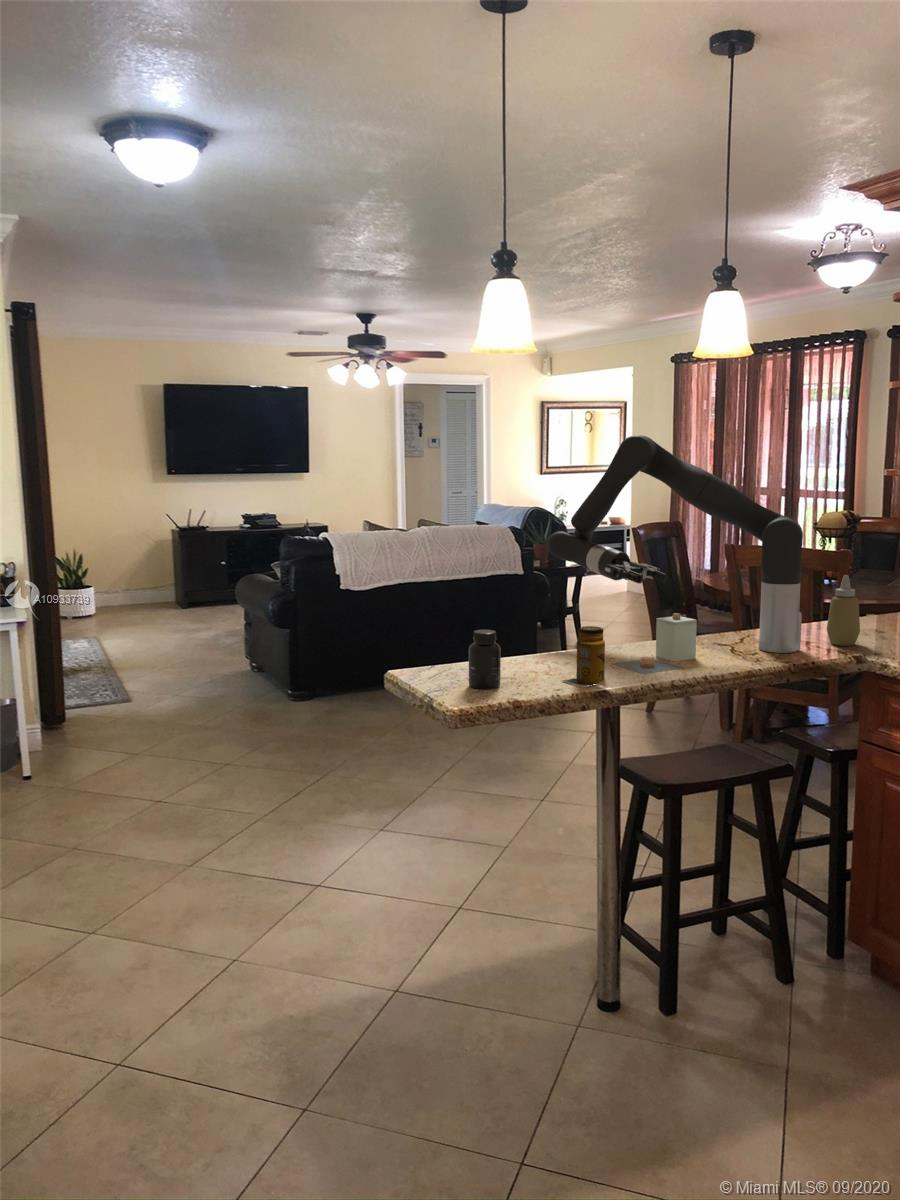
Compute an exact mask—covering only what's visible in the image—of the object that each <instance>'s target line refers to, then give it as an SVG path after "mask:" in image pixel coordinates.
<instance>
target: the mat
mask: <svg viewBox="0 0 900 1200" xmlns="http://www.w3.org/2000/svg"><path fill="white" fill-rule="evenodd" d="M611 666H616V667H618V668H622V669H626V670H629V671H632V672H636V673H639V674H642V675H647V674H654V673H661V672H668V671H674V670H683V669H684V667H683V666H679V665H676V664H672V663H668V662H665V661H662V660H658V659H655V660H654V667H641V666H640V659H638V660H637V659H636V660H629V661H623V662H621V661H620V662H615V663H614V662H613V663H611Z"/></svg>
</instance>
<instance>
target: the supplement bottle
mask: <svg viewBox="0 0 900 1200" xmlns="http://www.w3.org/2000/svg"><path fill="white" fill-rule="evenodd" d="M472 638H473V641H474V642H473V643H471V644H470V645H469V648H468V685H469V687H470V688H472V689H474V690H487V691H488V690H494V689H498V688H499V687H501V686H500V685H501V661H502V660H501V657H502V656H501V649H502V648H501V646H500V645H499V644H498V643H497V642H496V641H497V632H496V631H495V630H492V629H477V630H474V631H473V637H472Z"/></svg>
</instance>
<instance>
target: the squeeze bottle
mask: <svg viewBox="0 0 900 1200" xmlns="http://www.w3.org/2000/svg"><path fill="white" fill-rule="evenodd" d="M842 576H843V577H842V579H841V583H840V586H839V588H835V593H834V594H835V596H833V597H832V598H831V599H830V605H829V612H828V616H827V617H828V618H827V625H826V632H827V636H828V639H829V643H830V644H832V645H835V646H839V647H840V646H841V647H842V646H843V647H848V646H849V647H850V646H854V645H856V642H857V640H858V638H859V636H860V633H861V624H860V622H861V621H860V604H859V601H860V600H859V599H858V598H857V597H855V596H856V589H854V588H851V582H850V576H849V574H845V575H842Z"/></svg>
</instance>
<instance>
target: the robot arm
mask: <svg viewBox="0 0 900 1200" xmlns="http://www.w3.org/2000/svg"><path fill="white" fill-rule="evenodd" d="M639 472H641V473H643V474H646V475H649V476H650V477H652V478H654V479H656V480H658V481H660V482H662V483H664V484H665V486H667V487H669V488H670V489H671V490H672V491H674V493H676V495H678V496H679V497H681V499H683V500H685V501H686V503H688V504H690V505H691V506H692V507H694V508H695V509H698V510H700V511H701V512H703V513H705V514H707V515H709V516H710V517H713V518H715V519H717V520H719V521H722V522H724V523H728V524H729V525H733V526H735V527H738V528H740V529H741V530H744V531H746V532H747V533H749V534H750V535H752V536H754V537H755V538H756V539H758V540H759V541H760V542H761V565H760V567H761V568H760V570H761V571H760V572H761V580H760V582H761V583H760V588H761V589H760V606H759V607H760V610H759V613H760V614H759V632H758V633H759V634H758V635H759V636H758V650H761V651H763V652H770V653H775V654H777V653H779V654H787V653H789V654H790V653H796V652H798V651H799V650H801V643H802V642H801V641H802V623H803V622H802V621H803V620H802V619H803V617H802V616H803V613H802V612H801V611H800V602H801V582H802V581H801V580H802V556H803V555H802V554H803V539H804V534H803V533H804V532H803V529H802V527H801V525H800V524H799V522H798V521H796V520H794V519H793V518H790V517H787V516H785V515H783V514H780V513H778V512H775V511H773V510H771V509H769V508H767V507H765V506H763V505H761V504H759V503H757V502H756V501H754V500H753V499H752V498H750V497H749V496H748V495H746V494H745V493H743V492H742V491H740V490H739V489H737V488H736V487H734V486H733V485H731V484H730V483H728V482H727V481H725V480H723V479H721V478H720V477H718V476H716V475H715V474H712V473H710V472H709V471H706V470H705V469H703V468H701V467H699V466H697V465H694V464H692V463H689V462H687V461H685V460H682V459H681V458H679V457H677V456H675V455H674V454H672V453H671V452H669V451H668V450H667V449H665V448H664V447H662V446H661V445H660V444H658V443H657V442H656V441H655V440H654V439H652V438H650V437H648V436H646V435H643V434H639V435H638V434H637V435H636V434H634V435H630V436H628V437H626V438H625V439H623V441H622V442H621V443H620V445H619V447H618V448H617V451H616V452H615V454H614V455H613V458H612V460H611V462H610V463H609V466H608V467H607V469H606V471H605V472H604V473H603V476H602V477H601V478H600V479H599V482H597V484H596V485H595V487H594V488H593V489H592V491H591V492H590V493H589V494H588V495H587V497H586V498H585V499H584V501H583V502H582V503H581V505H580V506H579V508H578V509H577V510H576V511H575V513H574V514H573V516H572V517H571V518H570V519H571V520H570V524H571V525H572V527H573V528H574V529H575V530H574V532H573V533H572V534H570V533H568V532H565V531H556V532H553V533H552V534H551V535H550V536H549V537H548V539H547V542H546V546H547V550H548V552H549V553H550V555H552V556H554V557H555V558H558V559H561V560H564V561H566V562H569V563H570V562H571V563H574V564H577V565H578V566H580V567H583V568H584V569H588V570H590V571H592V572H594V573H595V574H598V575H600V576H603V577H605V578H608V579H610V580H613V581H620V580H621V581H623V580H625V581H631V582H634V583H636V584H643V580H646V579H651V580H654V581H657V582H660V583H662V584H663V583H666V582H667V579H668V574H667V573H664V572H662V571H661V568H659V567H656V566H653V565H651V564H650V565H649V564H648V563H645V562H641V563H638V562H637V561H631V558H630V556H629V555H628V553H626V552H624V551H621V550H619V549H617V548H616V549H615V548H613V547H609V546H606V545H601V544H598V543H595V542H592V541H591V539H592V537H593V534H594V532H595V531H596V530H597V528H598V527H599V526H600V525H601V523H602V522H603V520H604V519H605V517H606V516H607V515H608V513H609V512H610V511H611V509H612V507H613V505H614V503H615V501H616V500H617V498H618V497H619V495H620V493H621V492H622V490H623V489H624V487H626V486H627V484H628V483H629V482H630V481H631V480H632V479H633V478H634V477H635V476H636V475H637V474H638V473H639Z"/></svg>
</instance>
